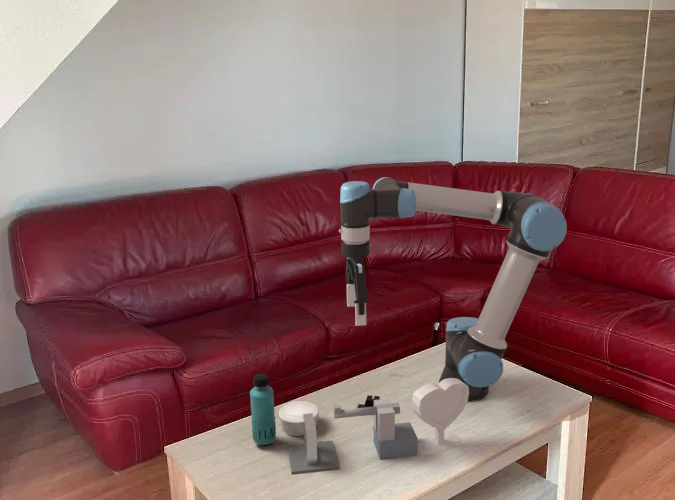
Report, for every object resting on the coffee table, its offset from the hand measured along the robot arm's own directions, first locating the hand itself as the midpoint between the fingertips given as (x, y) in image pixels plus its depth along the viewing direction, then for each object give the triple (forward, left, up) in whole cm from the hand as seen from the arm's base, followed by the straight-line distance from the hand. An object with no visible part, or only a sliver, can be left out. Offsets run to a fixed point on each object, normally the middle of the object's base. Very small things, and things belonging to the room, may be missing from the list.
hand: (356, 315), depth 183 cm
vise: (-2, +17, -32) cm, 36 cm away
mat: (+15, +17, -32) cm, 39 cm away
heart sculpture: (-19, +17, -32) cm, 41 cm away
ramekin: (+17, +2, -32) cm, 36 cm away
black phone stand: (-5, -3, -32) cm, 33 cm away
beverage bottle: (+27, +8, -32) cm, 43 cm away
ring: (+16, +17, -31) cm, 39 cm away
